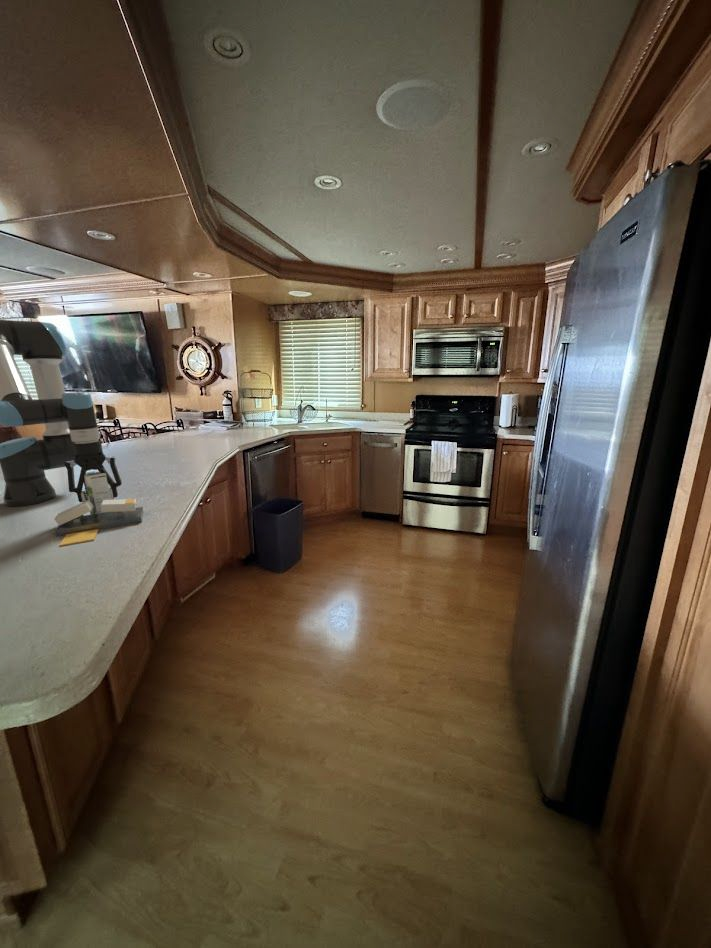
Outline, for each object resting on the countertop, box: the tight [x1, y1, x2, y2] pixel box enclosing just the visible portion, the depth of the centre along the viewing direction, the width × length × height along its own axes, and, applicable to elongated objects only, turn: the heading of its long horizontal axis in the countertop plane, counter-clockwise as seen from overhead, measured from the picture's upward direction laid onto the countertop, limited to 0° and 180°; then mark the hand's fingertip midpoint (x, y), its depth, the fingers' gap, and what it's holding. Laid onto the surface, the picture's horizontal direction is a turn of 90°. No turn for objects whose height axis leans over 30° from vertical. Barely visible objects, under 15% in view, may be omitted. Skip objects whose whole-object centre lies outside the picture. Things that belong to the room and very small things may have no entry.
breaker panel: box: [54, 506, 144, 537], centre depth 118 cm, size 10×22×4 cm, turn 116°
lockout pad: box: [59, 529, 100, 547], centre depth 109 cm, size 8×8×1 cm
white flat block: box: [53, 500, 93, 526], centre depth 115 cm, size 5×9×2 cm, turn 116°
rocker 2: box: [101, 498, 137, 512], centre depth 120 cm, size 5×9×3 cm, turn 116°
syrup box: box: [83, 470, 111, 515], centre depth 125 cm, size 6×6×14 cm
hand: (101, 508), depth 126 cm, fingers closed on syrup box, 7 cm apart
